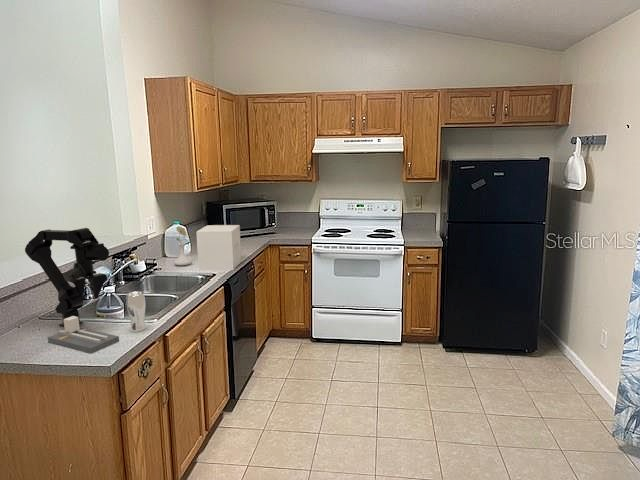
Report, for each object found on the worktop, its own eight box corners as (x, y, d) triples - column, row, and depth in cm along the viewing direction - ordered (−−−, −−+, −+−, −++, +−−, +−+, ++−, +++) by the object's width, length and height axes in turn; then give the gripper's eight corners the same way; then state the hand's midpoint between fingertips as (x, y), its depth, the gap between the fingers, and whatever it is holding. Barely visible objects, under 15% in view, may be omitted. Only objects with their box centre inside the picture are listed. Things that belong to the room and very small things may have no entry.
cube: (233, 270, 279) (231, 231, 274) (198, 271, 279) (196, 231, 275) (241, 261, 303) (239, 225, 299) (209, 261, 304) (207, 225, 299)
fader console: (48, 342, 173) (47, 334, 173) (77, 331, 184) (76, 323, 183) (91, 353, 163) (90, 345, 162) (119, 341, 173) (118, 333, 173)
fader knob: (65, 334, 174) (63, 319, 173) (74, 330, 178) (73, 315, 177) (70, 335, 173) (68, 320, 172) (80, 331, 177) (78, 317, 175)
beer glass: (149, 325, 189) (146, 290, 186) (144, 332, 182) (140, 296, 179) (132, 326, 189) (129, 291, 186) (126, 332, 182) (123, 296, 179)
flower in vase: (194, 265, 292) (192, 226, 287) (177, 267, 286) (174, 228, 281) (188, 261, 303) (185, 224, 298) (170, 263, 296) (168, 225, 292)
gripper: (50, 262, 180) (55, 300, 183) (80, 266, 171) (85, 305, 174) (76, 256, 190) (81, 292, 192) (106, 259, 181) (110, 297, 184)
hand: (89, 297), depth 185 cm, fingers open, 9 cm apart
